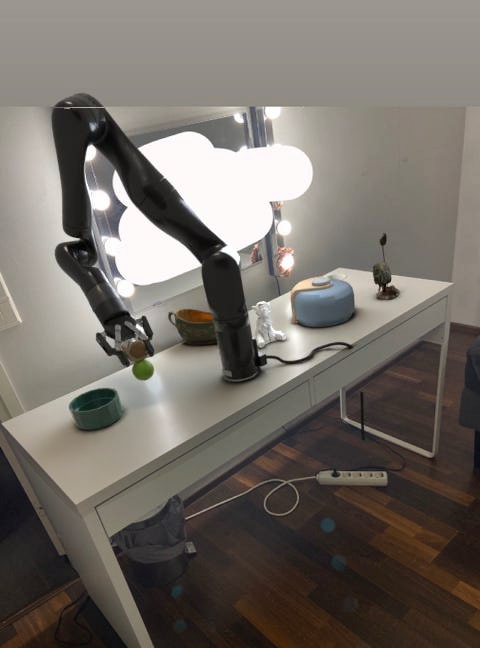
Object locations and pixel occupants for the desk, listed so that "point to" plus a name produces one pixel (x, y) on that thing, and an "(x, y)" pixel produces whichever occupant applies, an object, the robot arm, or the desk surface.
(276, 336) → the seated beast figurine
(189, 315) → the cup
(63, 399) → the desk surface
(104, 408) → the bowl
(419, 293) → the desk surface
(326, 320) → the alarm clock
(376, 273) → the plant with pod
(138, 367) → the snail figurine
